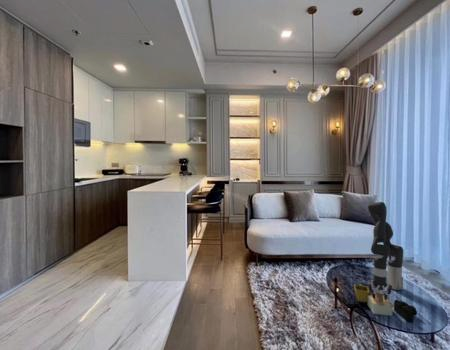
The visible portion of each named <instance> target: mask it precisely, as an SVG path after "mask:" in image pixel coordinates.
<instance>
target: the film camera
mask: <svg viewBox="0 0 450 350" xmlns="http://www.w3.org/2000/svg"><path fill="white" fill-rule="evenodd" d="M393 303H394V306H393V312H395V313H396V314H397V315H398V316H399V317H400V318H402V319H403V320H404V321H405V322H407V323H411V324H412V323H413V322H414V317H416V316H417V315H418V311H417V308H416V307H415V306H414V305H411V304H408V303H407V302H406V301H403V300H398V299H395V300H394V301H393Z"/></svg>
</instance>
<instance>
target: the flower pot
mask: <svg viewBox="0 0 450 350" xmlns="http://www.w3.org/2000/svg"><path fill="white" fill-rule="evenodd" d="M353 286H354V293H355V297H356V300H357V301H358V302H362V303H368V297H367V295H370V293H371V292H370V291H369V287H368V285H359V284H353Z"/></svg>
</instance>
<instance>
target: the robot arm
mask: <svg viewBox="0 0 450 350" xmlns="http://www.w3.org/2000/svg"><path fill="white" fill-rule="evenodd" d="M367 211H368V212H369V214H370V216H371V218H372V220H373V221H374V224H375V225H374V227H373V233H372V234H373V240H372V244H371V247H370V251H371V253H372V254H373V255H377V256H378V255H379V256H380V257H374V259H373V270H372V271H373V275H372V276H373V277H372V280H373V281H372V282H370V281H369V282H368V281H367V287H368V289H369V291H370V292H369V293H371V295H372V297H373V298H374V299H375V296H376V291H379V290H380V291H383V296H384V300H386V299H388V296H389V295H391V294H392V290H394V291H395V290H396V291H401V290H402V291H403V289H404V276H403V263H404V249H403V247H402V246H401V245H397V244H393V243H392V242H391V239H392V238H393V236H394V231H393V228H392V226H391V224H389V222H387V215H388V213H387V206H386V204H385V202H383V201H378V202H377V201H376V202H370V203H368V205H367ZM381 243H382V244H381ZM389 256H390V257H393V258H394V259H389V260H388V258H389ZM386 288H387V290H386Z"/></svg>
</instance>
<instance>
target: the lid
mask: <svg viewBox="0 0 450 350" xmlns="http://www.w3.org/2000/svg"><path fill="white" fill-rule="evenodd" d="M367 297H368V298H369V299H370V301H371V302H372V304H373V305H381V306H391V307H392V308H394V306H393V305H392V303H393V302H391V301H390V300H389V299H388V298H387V299H386V300H384V292H382V291H381V290H380V291H379V290H377V291H376V293H375V299H374V298H373V297H372V294H369V295H367Z"/></svg>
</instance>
